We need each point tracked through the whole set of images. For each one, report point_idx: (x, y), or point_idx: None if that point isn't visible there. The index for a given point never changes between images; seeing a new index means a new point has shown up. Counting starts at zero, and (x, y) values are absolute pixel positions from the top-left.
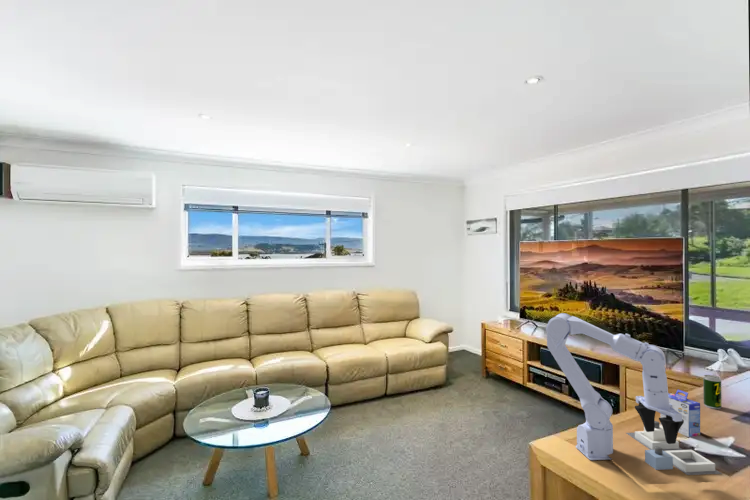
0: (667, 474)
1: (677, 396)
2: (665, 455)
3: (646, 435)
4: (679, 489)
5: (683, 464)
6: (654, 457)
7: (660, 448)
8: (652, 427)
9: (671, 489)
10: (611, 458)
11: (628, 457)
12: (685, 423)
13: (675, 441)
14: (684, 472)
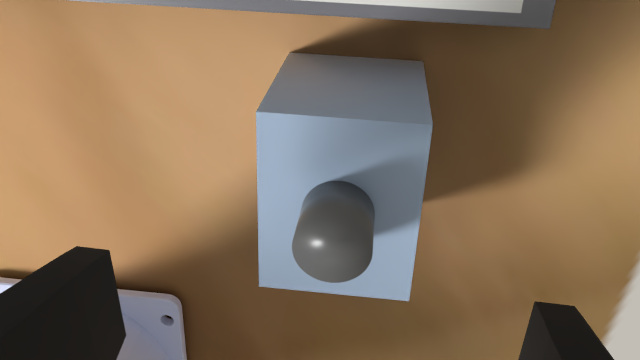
0: None
1: None
2: (392, 181)
3: None
4: (614, 191)
5: (484, 9)
6: (392, 294)
7: (350, 242)
8: (78, 313)
9: (594, 245)
10: (184, 357)
11: (145, 215)
12: None
13: (587, 332)
14: (507, 18)
